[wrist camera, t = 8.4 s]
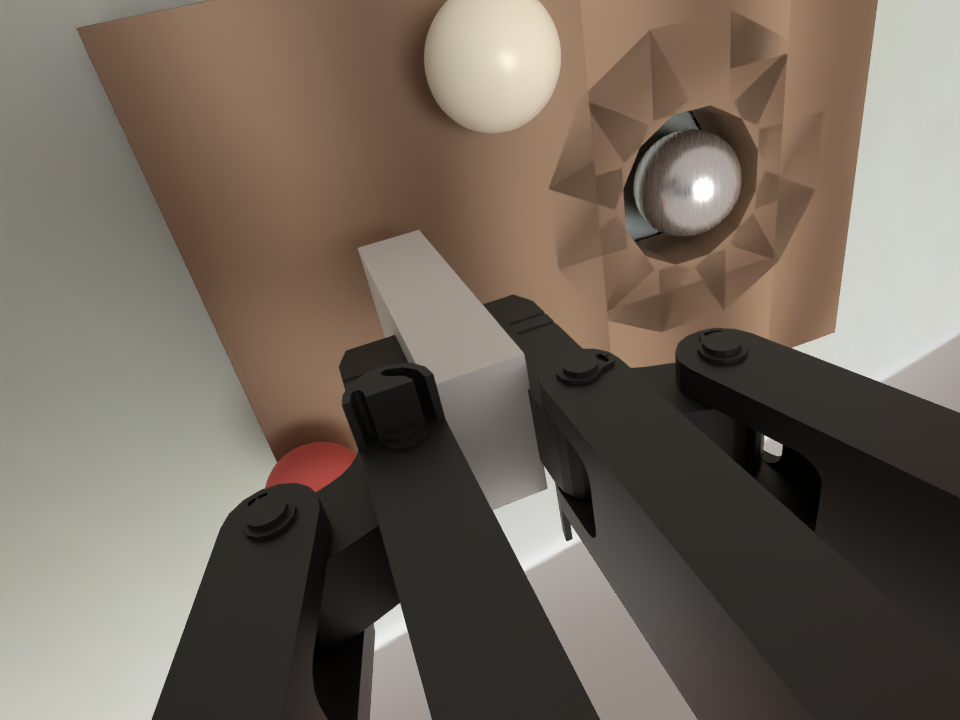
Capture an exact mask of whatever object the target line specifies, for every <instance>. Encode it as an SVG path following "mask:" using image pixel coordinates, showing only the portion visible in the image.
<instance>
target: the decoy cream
mask: <svg viewBox="0 0 960 720" xmlns="http://www.w3.org/2000/svg"><path fill="white" fill-rule="evenodd" d="M424 67H425V74H426V78H427V82H428V85H429V88H430V90H431V92H432V95H433V97H434V98H435V100H436V102H437V103H438V105H439V106H440V107H441V109H442V110H443V111H444V112H445V113H446V114H447V115H448V116H449V117H450V118H451V119H453V120H454V121H455V122H456V123H458V124H460V125H461V126H463V127H465V128H467V129H470V130H473V131H476V132H481V133H488V134H495V133H503V132H508V131H511V130H514V129H517V128H519V127H521V126H523V125H525V124H526V123H527V122H529V121H530V120H532V119H533V118H534V117H535V116H536V115H537V114H539V112H540V111H541V110H542V109H543V108H544V107H545V105H546V104H547V102H548V101H549V99H550V97H551V96H552V94H553V92H554V89H555V87H556V84H557V81H558V77H559V73H560V67H561V47H560V41H559V36H558V33H557V29H556V27H555V24H554V22H553V20H552V18H551V16H550V15H549V13H548V11H547V10H546V9H545V7H544V6H543V5H542V4H541V3H540V2H539V1H538V0H447V1H446V2H445V4H444V5H443V6H442V7H441V8H440V10H439V11H438V13H437V14H436V16H435V18H434V19H433V22H432V24H431V26H430V28H429V31H428V34H427V38H426V43H425V50H424Z"/></svg>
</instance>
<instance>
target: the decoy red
mask: <svg viewBox="0 0 960 720" xmlns="http://www.w3.org/2000/svg"><path fill="white" fill-rule="evenodd" d="M356 455H357V454H356V453H354V452H353V451H352V450H350V449H348V448H346V447H344V446H342V445H340V444H336V443H331V442H313V443H308V444H305V445H302V446H299V447H297V448H295V449H293V450H292V451H290V452H289V453H287V454H286V455H285V456H284V457H283V458H282V459H280V461H279V462H278V463H277V464H276V465H275V467H274V468H273V470H272V471H271V473H270V475H269V477H268V480H267V483H266V487H265V488H268V487H271V486H274V485H277V484H285V483H299V484H302V485H306V486H309V487H311V488H312V489H313V490H314V492H317V491H318V490H320V489H321V488H323V487H325V486H326V485H328V484H330V483H331V482H332V481H334V480H335V479H336V478H338V477H339V476H340V475H342V474H343V473H344V472H345V471H346V470H347V468H348V467H349V466H350V465H351V464H352V462H353V461H354V459H355V457H356Z"/></svg>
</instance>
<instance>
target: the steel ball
mask: <svg viewBox="0 0 960 720" xmlns="http://www.w3.org/2000/svg"><path fill="white" fill-rule="evenodd" d="M741 184H742V172H741V167H740V163H739V160H738V158H737V156H736V154H735V152H734V151H733V149H732V148H731V147H730V145H729V144H728V143H727V142H726V141H724V140H723V139H722V138H720V137H719V136H717V135H715V134H713V133H710V132H707V131H703V130H696V129H689V130H681V131H677V132H674V133H671V134H669V135H667V136H665V137H663V138H661V139H660V140H658V141H657V142H656V143H654V144H653V145H652V146H651V147H650V148H649V149H648V150H647V152H646V153H645V154H644V155H643V157H642V159H641V160H640V162H639V164H638V167H637V169H636V172H635V176H634V183H633V193H634V199H635V203H636V205H637V208H638V210H639V212H640V214H641V215H642V216H643V218H644V219H645V220H646V221H647V222H648V223H649V224H650V225H651V226H653V227H654V228H655V229H657V230H659V231H661V232H663V233H666V234H669V235H673V236H693V235H697V234H701V233H703V232H706V231H708V230H710V229H712V228H713V227H715V226H716V225H718V224H719V223H720V222H721V221H723V220H724V219H725V218H726V217H727V215H728V214H729V213H730V212H731V210H732V209H733V207H734V205H735V203H736V202H737V199H738V197H739V194H740V190H741Z"/></svg>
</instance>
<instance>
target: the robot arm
mask: <svg viewBox="0 0 960 720" xmlns="http://www.w3.org/2000/svg"><path fill="white" fill-rule="evenodd" d="M358 251H359V255H360V258H361V261H362V264H363V268H364V271H365V274H366V277H367V281H368V284H369V287H370V290H371V294H372V297H373V300H374V303H375V307H376V310H377V313H378V316H379V320H380V323H381V326H382V329H383V333H384V336H385V338H383V339H380V340H377V341H374V342H371V343H368V344H365V345H362V346H359V347H355V348H352V349H349V350H346V351H345V353H344V355H343V358H342V360H341V362H340V364H339V370H340V374H341V377H342V381H343V385H344V388H345V392H344V393H343V396H342V408H343V410H344V413H345V416H346V418H347V421H348V424H349V426H350V429H351V432H352V434H353V437H354V440H355V442H356V445H357V448H358V452H357V455H356V457H355V459H354V461H353V462H352V464H351V465H350V466H349V467H348V468H347V470H346V471H345V472H344V473H343V474H342V475H340V476H339V477H338V478H336V479H335V480H334V481H332V482H331V483H330V484H328V485H326V486H325V487H323V488H321V489H320V490H318V491H317V492H314V490H313V489H312V488H311V487H309V486H306V485H302V484H299V483H285V484H277V485H274V486H271V487H268V488H265V489H262V490H260V491H258V492H257V493H255V494H253V495H252V496H250V497H248V498H247V499H245V500H243V501H242V502H241V503H240V504H239V505H238V506H237V507H236V508H235V509H234V510H233V511H232V512H231V513H229V515H228V517H227V518H226V520H225V522H224V523H223V525H222V527H221V528H220V531H219V534H218V536H217V539H216V542H215V545H214V548H213V550H212V553H211V556H210V559H209V561H208V564H207V567H206V570H205V573H204V575H203V578H202V581H201V584H200V587H199V589H198V592H197V595H196V598H195V600H194V603H193V606H192V609H191V612H190V614H189V617H188V620H187V623H186V625H185V628H184V631H183V634H182V637H181V639H180V642H179V645H178V648H177V650H176V653H175V656H174V659H173V662H172V664H171V667H170V670H169V673H168V676H167V678H166V681H165V684H164V687H163V689H162V692H161V695H160V698H159V701H158V703H157V706H156V709H155V712H154V714H153V717H152V720H370V704H371V689H372V673H373V656H374V640H375V629H374V622H376V621H377V620H378V619H379V618H381V617H382V616H383V615H385V614H386V613H387V612H389V611H390V610H391V609H393V608H394V607H395V606H396V605H398V604H399V603H400V604H401V608H402V611H403V615H404V619H405V622H406V626H407V630H408V633H409V637H410V641H411V644H412V648H413V651H414V655H415V659H416V663H417V666H418V670H419V674H420V677H421V681H422V684H423V688H424V692H425V695H426V699H427V703H428V706H429V710H430V714H431V717H432V720H600V719H599V717H598V715H597V713H596V711H595V709H594V707H593V705H592V703H591V701H590V699H589V697H588V695H587V693H586V692H585V690H584V687H583V686H582V684H581V682H580V680H579V678H578V676H577V674H576V672H575V670H574V668H573V666H572V664H571V662H570V660H569V658H568V656H567V654H566V652H565V651H564V649H563V647H562V645H561V643H560V641H559V639H558V637H557V635H556V633H555V631H554V629H553V627H552V625H551V623H550V622H549V619H548V618H547V616H546V614H545V612H544V610H543V608H542V606H541V604H540V602H539V600H538V598H537V596H536V594H535V592H534V590H533V588H532V586H531V585H530V583H529V581H528V579H527V577H526V575H525V573H524V571H523V569H522V567H521V565H520V563H519V561H518V559H517V557H516V555H515V553H514V551H513V549H512V548H511V546H510V544H509V542H508V540H507V538H506V536H505V534H504V532H503V530H502V528H501V526H500V524H499V522H498V520H497V518H496V516H495V515H494V513H493V511H492V510H494V509H496V508H499V507H501V506H504V505H506V504H509V503H512V502H514V501H517V500H519V499H522V498H524V497H527V496H530V495H532V494H535V493H537V492H540V491H542V490H545V489H547V483H546V477H545V471H544V466H545V468H546V469H547V471H548V472H549V474H550V475H551V477H552V478H553V480H554V481H555V485H556V491H557V497H558V503H559V510H560V516H561V522H562V528H563V532H564V536H565V539H566V541H569V540H571V539H572V533H571V525H572V526H573V528H574V530H575V531H576V533H577V534H578V536H579V537H580V539H581V540H582V542H583V543H584V545H585V546H586V548H587V550H588V551H589V553H590V554H591V556H592V557H593V559H594V560H595V562H596V563H597V565H598V567H599V568H600V570H601V571H602V572H603V574H604V576H605V577H606V579H607V580H608V582H609V583H610V585H611V587H612V588H613V590H614V591H615V593H616V594H617V596H618V597H619V599H620V600H621V602H622V604H623V605H624V607H625V608H626V610H627V611H628V613H629V614H630V616H631V617H632V619H633V620H634V622H635V623H636V625H637V627H638V628H639V630H640V631H641V633H642V634H643V636H644V637H645V639H646V641H647V642H648V643H649V645H650V647H651V648H652V650H653V651H654V653H655V654H656V656H657V657H658V659H659V660H660V662H661V664H662V665H663V666H664V668H665V670H666V671H667V673H668V674H669V676H670V678H671V679H672V681H673V682H674V683H675V685H676V687H677V688H678V690H679V691H680V693H681V694H682V696H683V697H684V699H685V701H686V702H687V704H688V705H689V707H690V708H691V710H692V711H693V713H694V714H695V716H696V718H697V719H698V720H960V413H958V412H956V411H953V410H951V409H948V408H945V407H943V406H940V405H938V404H935V403H932V402H930V401H927V400H925V399H922V398H920V397H917V396H914V395H912V394H909V393H907V392H904V391H901V390H899V389H896V388H894V387H891V386H888V385H886V384H883V383H880V382H878V381H875V380H873V379H870V378H867V377H865V376H862V375H860V374H857V373H854V372H852V371H849V370H847V369H844V368H841V367H839V366H836V365H834V364H831V363H828V362H826V361H823V360H821V359H818V358H815V357H813V356H810V355H808V354H805V353H802V352H800V351H797V350H794V349H792V348H789V347H787V346H784V345H781V344H779V343H776V342H774V341H771V340H768V339H766V338H763V337H761V336H758V335H755V334H753V333H750V332H746V331H742V330H738V329H729V328H711V329H706V330H700V331H698V332H695V333H693V334H690V335H687V336H686V337H685V338H684V339H682V340H681V341H680V342H679V343H678V345H677V348H676V351H675V363H668V364H661V365H654V366H647V367H635V368H630V367H629V366H628V365H627V364H626V363H625V362H623V361H622V360H621V359H620V358H619V357H617V356H615V355H614V354H612V353H610V352H608V351H603V350H599V349H594V348H592V349H583V348H582V347H581V346H579V345H578V344H577V343H576V342H575V341H574V340H573V339H572V338H571V337H570V336H569V335H568V334H567V333H566V332H565V331H564V330H563V329H562V328H561V327H560V326H559V325H558V324H556V323H554V321H553V320H552V319H551V318H550V317H549V316H548V315H547V314H545V313H544V311H543V310H542V309H541V308H540V307H539V306H538V305H537V304H536V303H535V302H534V301H532V300H529V299H526V298H523V297H520V296H517V295H514V294H513V295H510V296H507V297H504V298H501V299H498V300H494V301H491V302H488V303H485V304H482V303H481V302H480V301H479V300H478V299H477V298H476V296H475V295H474V294H473V293H472V292H471V290H470V289H469V288H468V287H467V286H466V285H465V283H464V282H463V281H462V280H461V279H460V278H459V276H458V275H457V274H456V273H455V272H454V270H453V269H452V268H451V267H450V266H449V265H448V263H447V262H446V261H445V260H444V259H443V258H442V256H441V255H440V254H439V253H438V252H437V250H436V249H435V248H434V247H433V246H432V245H431V243H430V242H429V241H428V240H427V239H426V238H425V236H424V235H423V234H422V233H421V232H420V230H417V231H413V232H410V233H406V234H403V235H400V236H396V237H393V238H389V239H386V240H383V241H379V242H376V243H372V244H369V245H366V246H362V247H359V248H358ZM764 435H765V436H767V437H769V438H771V439H773V440H775V441H777V442H779V443H781V444H783V449H782V455H781V456H775V455H772V454H770V453H768V452H766V451H764V450H763V446H764Z"/></svg>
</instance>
